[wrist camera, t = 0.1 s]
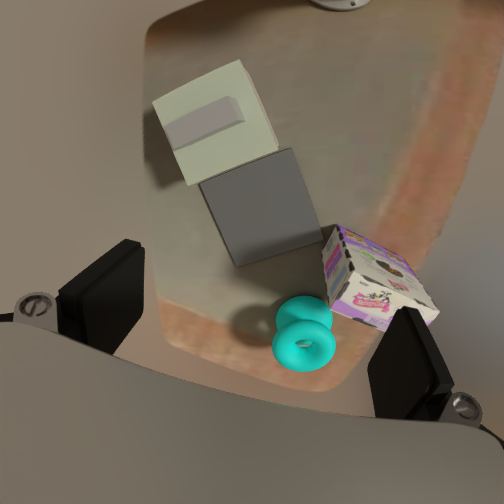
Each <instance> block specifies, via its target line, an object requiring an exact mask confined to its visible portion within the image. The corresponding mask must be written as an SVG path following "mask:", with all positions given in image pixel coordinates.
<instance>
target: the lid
mask: <svg viewBox="0 0 504 504" xmlns="http://www.w3.org/2000/svg"><path fill="white" fill-rule="evenodd" d="M152 103H153V105H154V108H155V110H156V113H157V115H158V118H159V120H160V122H161V125H162V127H163V129H164V132H165V134H166V136H167V139H168V141H169V144H170V146H171V148H172V151H173V153H174V155H175V157H176V160H177V162H178V164H179V167H180V169H181V171H182V174H183V176H184V178H185V180H186V183H187V185H188V186H190V185H192V184H194V183H196V182H199V181H201V180H203V179H206V178H208V177H211V176H213V175H215V174H218V173H220V172H223V171H225V170H227V169H230V168H232V167H235V166H237V165H240V164H242V163H245V162H248V161H250V160H253V159H255V158H258V157H261V156H263V155H266V154H269V153H271V152H274V151H277V150H279V149H278V146H277V144H276V141H275V139H274V136H273V134H272V131H271V129H270V127H269V124H268V122H267V119H266V117H265V115H264V112H263V110H262V108H261V105H260V103H259V101H258V98H257V96H256V94H255V91H254V89H253V87H252V85H251V82H250V80H249V78H248V76H247V73H246V71H245V69H244V67H243V65H242V62H241V61H240V60H237V61H234V62H232V63H229V64H227V65H225V66H223V67H220V68H218V69H216V70H214V71H212V72H209V73H207V74H205V75H203V76H201V77H199V78H197V79H195V80H193V81H191V82H189V83H187V84H185V85H183V86H181V87H179V88H177V89H175V90H173V91H171V92H170V93H168V94H166V95H164V96H162V97H160V98H159V99H157V100H155V101H153V102H152Z"/></svg>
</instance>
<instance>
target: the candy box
mask: <svg viewBox="0 0 504 504" xmlns="http://www.w3.org/2000/svg"><path fill="white" fill-rule="evenodd" d="M321 255H322V261H323V268H324V275H325V281H326V289H327V296H328V303H329V310H331V311H333V312H336V313H338V314H341V315H343V316H346V317H348V318H351V319H353V320H356V321H358V322H361V323H364V324H366V325H369V326H371V327H374V328H376V329H379V330H381V331H384V332H386V330H387V328H388V326H389V324H390V322H391V320H392V318H393V316H394V314H395V312H396V310H397V309H401V308H402V307H403V306H408V307H412V308H417V309H418V310H419V312H420V314H421V315H422V317H423V319H424V321H425V323H426V325H427V327H429V325H430V324H431V323H432V321H433V320H434V319H435V317H436V316H437V315H438V314H439V310H438V308H437V307H436V305H435V303H434V302H433V300H432V299H431V297H430V296H429V294H428V293H427V291H426V290H425V289H424V287H423V285H422V284H421V282H420V281H419V280H418V278H417V277H416V275H415V274H414V272H413V271H412V269H411V268H410V266H409V265H408V264H407V262H406V261H405V260H404V258H402V257H400V256H399V255H397V254H395V253H393V252H391V251H389V250H387V249H385V248H383V247H381V246H379V245H377V244H376V243H374V242H372V241H370V240H368V239H366V238H364V237H362V236H360V235H358V234H355V233H353V232H351V231H349V230H348V229H346V228H344V227H342V226H340V225H338V224H336V226H335V228H334V230H333V232H332V234H331V236H330V238H329V239H328V241H327V243H326V244H325V246H324V248H323V250H322V252H321Z"/></svg>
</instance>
